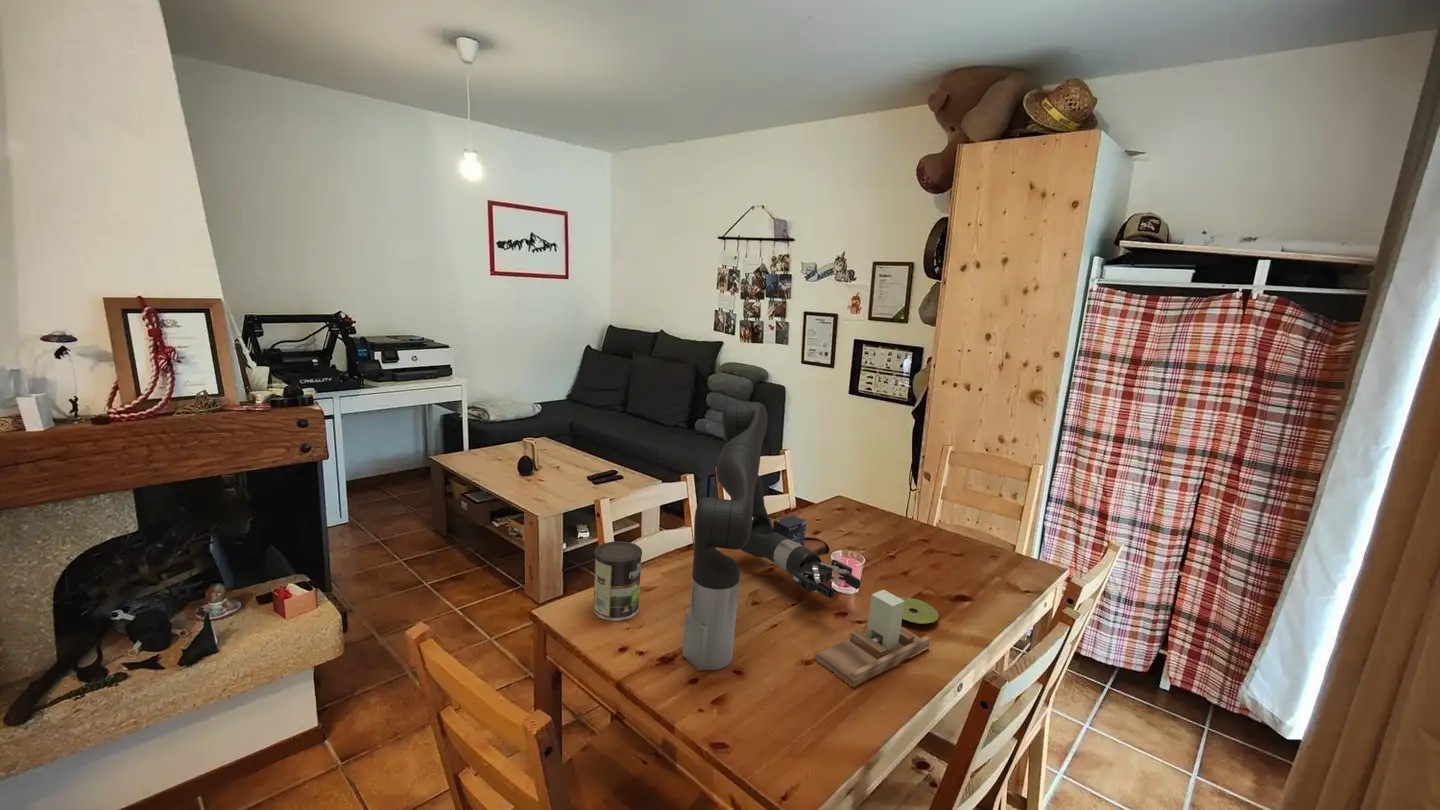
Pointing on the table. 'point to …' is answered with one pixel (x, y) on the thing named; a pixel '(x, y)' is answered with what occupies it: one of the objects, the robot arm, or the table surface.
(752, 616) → the table surface
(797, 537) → the box
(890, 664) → the wooden socket base
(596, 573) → the coffee can
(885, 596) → the clip
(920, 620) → the green washer
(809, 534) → the sunglasses case
